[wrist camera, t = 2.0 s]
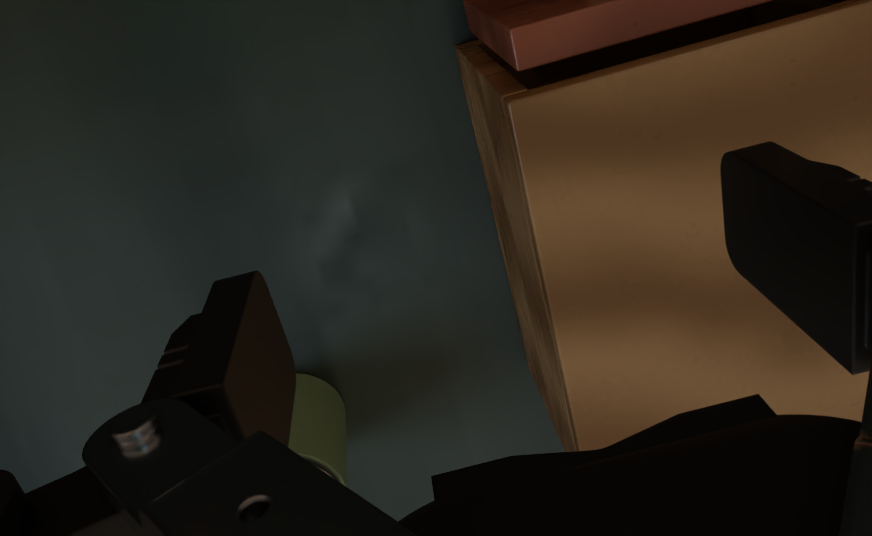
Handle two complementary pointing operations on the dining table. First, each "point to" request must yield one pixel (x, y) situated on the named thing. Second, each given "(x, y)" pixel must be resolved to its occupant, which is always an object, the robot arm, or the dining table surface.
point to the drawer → (608, 30)
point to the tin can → (319, 426)
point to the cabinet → (664, 219)
